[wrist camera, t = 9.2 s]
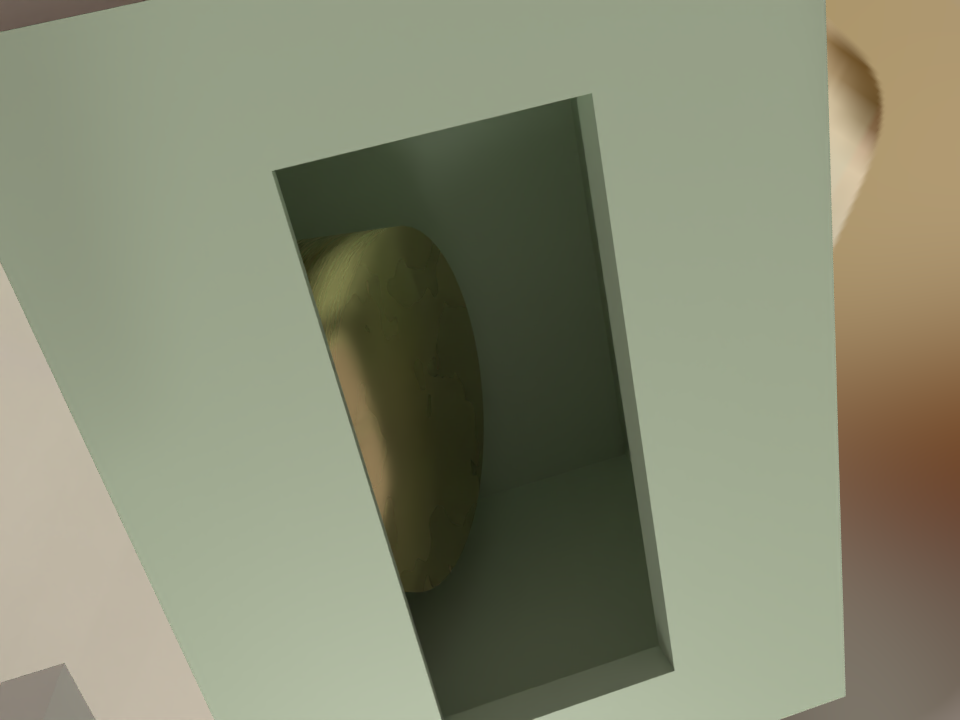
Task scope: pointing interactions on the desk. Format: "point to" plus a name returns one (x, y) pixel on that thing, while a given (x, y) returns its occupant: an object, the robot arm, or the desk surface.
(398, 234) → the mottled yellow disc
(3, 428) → the desk surface
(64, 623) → the desk surface
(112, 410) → the box
